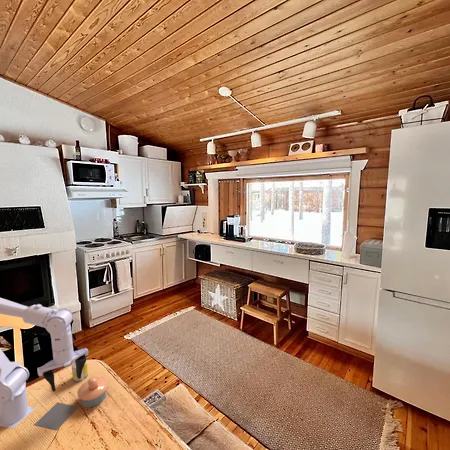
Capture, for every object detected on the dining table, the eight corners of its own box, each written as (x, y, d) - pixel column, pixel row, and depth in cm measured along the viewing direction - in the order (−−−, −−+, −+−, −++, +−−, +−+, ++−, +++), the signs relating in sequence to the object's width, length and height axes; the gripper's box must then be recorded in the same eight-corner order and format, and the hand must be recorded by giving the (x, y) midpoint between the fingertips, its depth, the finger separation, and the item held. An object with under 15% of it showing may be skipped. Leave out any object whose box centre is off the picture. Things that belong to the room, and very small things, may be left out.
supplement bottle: (86, 371, 108) (84, 350, 106) (90, 378, 104) (87, 356, 102) (71, 378, 104) (69, 356, 103) (74, 385, 100) (72, 362, 99)
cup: (76, 406, 90) (75, 396, 90) (92, 389, 98) (91, 379, 97) (96, 410, 89) (95, 399, 88) (111, 392, 96) (110, 382, 96)
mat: (34, 426, 83) (33, 424, 83) (57, 403, 91) (57, 402, 91) (57, 431, 81) (56, 430, 81) (79, 408, 89) (78, 406, 89)
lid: (70, 398, 89) (69, 388, 88) (91, 377, 98) (90, 368, 98) (96, 402, 87) (95, 392, 86) (114, 381, 97) (113, 372, 96)
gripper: (39, 362, 77) (44, 402, 79) (90, 341, 88) (93, 377, 90) (34, 353, 82) (38, 391, 84) (82, 334, 93) (86, 368, 94)
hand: (66, 383), depth 87 cm, fingers open, 7 cm apart
